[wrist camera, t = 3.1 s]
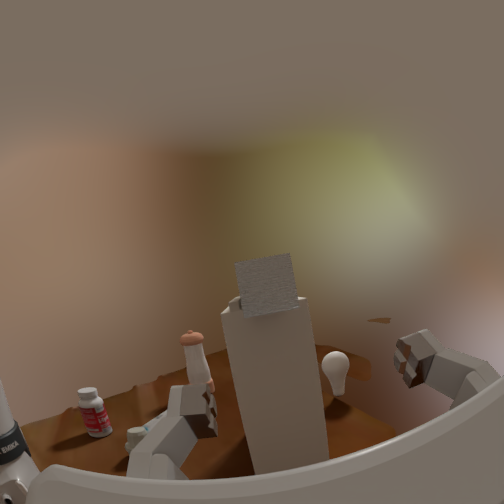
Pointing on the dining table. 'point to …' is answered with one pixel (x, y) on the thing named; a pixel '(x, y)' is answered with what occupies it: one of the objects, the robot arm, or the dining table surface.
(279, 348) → the stand
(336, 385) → the lightbulb
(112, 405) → the dining table surface
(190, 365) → the pepper shaker
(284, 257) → the brushed metal bar
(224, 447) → the dining table surface
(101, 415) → the pill bottle
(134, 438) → the toothbrush head
